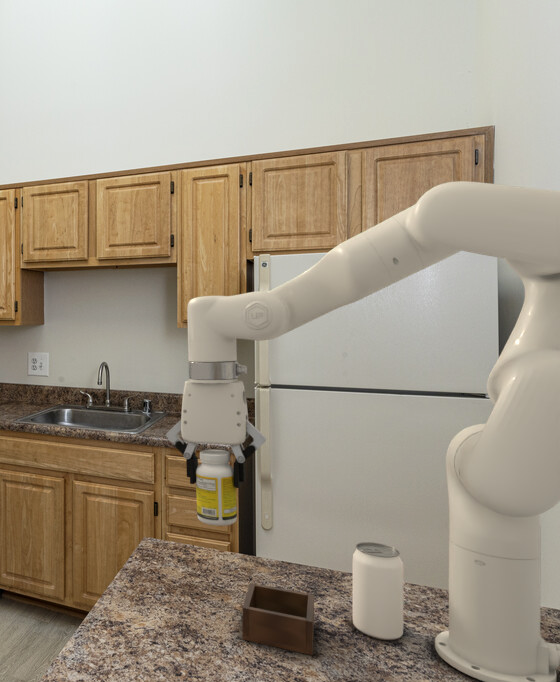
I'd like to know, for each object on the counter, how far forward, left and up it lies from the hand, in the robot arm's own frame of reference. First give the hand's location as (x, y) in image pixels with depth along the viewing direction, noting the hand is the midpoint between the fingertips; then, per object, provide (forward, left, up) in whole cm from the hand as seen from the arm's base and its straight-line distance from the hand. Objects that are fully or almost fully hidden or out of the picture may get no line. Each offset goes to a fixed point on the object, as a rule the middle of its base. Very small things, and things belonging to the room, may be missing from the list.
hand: (215, 483), depth 90 cm
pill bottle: (0, 0, -6) cm, 6 cm away
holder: (-10, +4, -20) cm, 23 cm away
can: (-23, -3, -20) cm, 30 cm away
